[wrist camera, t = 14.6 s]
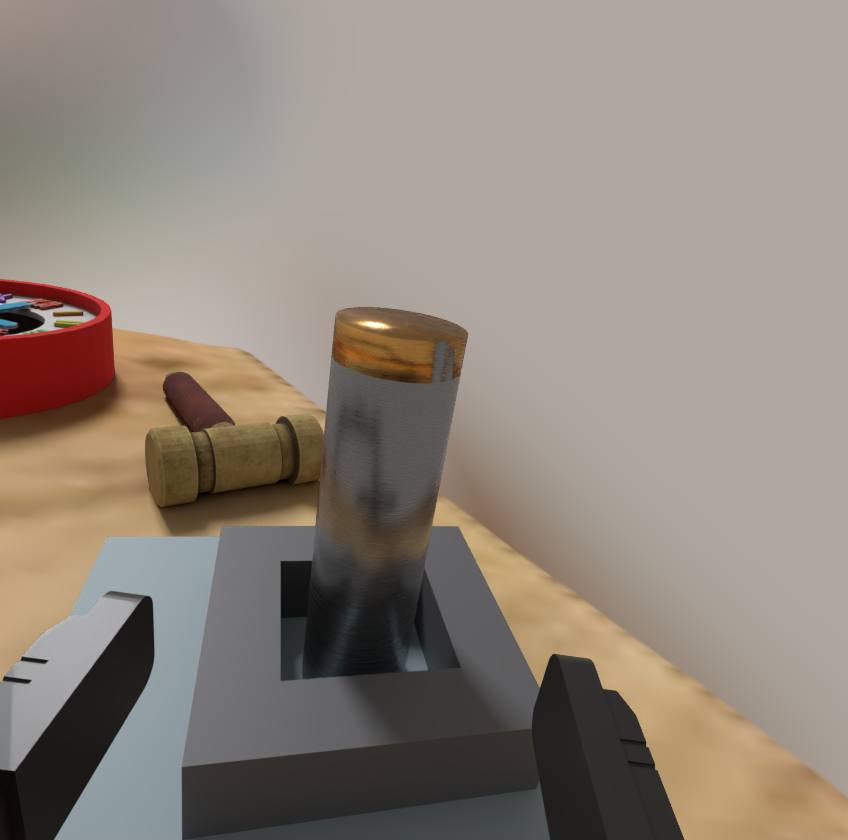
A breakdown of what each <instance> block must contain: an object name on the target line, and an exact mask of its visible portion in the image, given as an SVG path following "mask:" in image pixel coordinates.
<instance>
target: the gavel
mask: <svg viewBox="0 0 848 840" xmlns="http://www.w3.org/2000/svg"><path fill="white" fill-rule="evenodd" d="M163 391H164V393H165V395H166V396H167V397H168V399H169V400H170V401H171V403H172V404H173V405H174V407H175V408H176V409H177V410H178V412H179V413H180V414H181V416H182V417H183V418H184V420H185V421H186V422H187V424H188V425H189V426H190V428H191V429H192V430H193V432H194V433H190V432H189V430H188V428H187V427H186V426H174V427H163V428H153V429H150V430H149V432H148V434H147V436H146V441H145V458H146V469H147V476H148V482H149V487H150V491H151V493H152V495H153V498H154V500H155V503H156V504H157V505H158V506H160V507H167V506H172V505H178V504H184V503H190V502H194V501H195V500H196V497H197V493H202V492H209V493H210V494H211V493H217V492H223V491H229V490H235V489H241V488H247V487H253V486H259V485H265V484H271V483H276V482H277V481H278V480H281V479H286V480H287V481H288V482H289V483H290V484H291V485H294V484H300V483H306V482H311V481H317V480H319V479H320V472H321V462H322V451H323V441H324V434H323V431H322V428H321V426H320V424H319V423H318V421H317V420H316V418H315V417H314V416H312V415H311V414H300V415H290V416H282V417H280V418H279V419H278V420H277V422H276V424H270V423H257V424H247V425H237V426H235V423H234V421H233V420H232V419H231V418H230V416H229V415H228V414H227V413H226V412H225V411H224V410H223V409H222V408H221V407H220V406H219V405H218V404H217V403H216V402H215V401H214V400H213V399H212V398H211V397H210V396H209V395H208V394H207V392H206V391H205V390H204V389H203V388H202V387H201V386H200V385H199V384H198V383H197V382H196V381H195V380H194V379H193V378H192V377H191V376H190V375H189V374H187V373H184V372H169V373H168V374H167V375H166V377H165V381H164V384H163Z"/></svg>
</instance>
